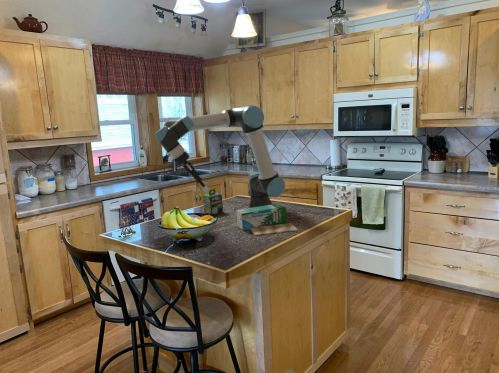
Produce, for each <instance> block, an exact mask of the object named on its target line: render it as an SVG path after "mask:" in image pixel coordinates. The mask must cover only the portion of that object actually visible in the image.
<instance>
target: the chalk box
mask: <svg viewBox="0 0 499 373" xmlns="http://www.w3.org/2000/svg"><path fill="white" fill-rule="evenodd" d="M223 204H224V203H223V194H222V193H218V192H216V188H212V189H210V190H209V191H208V193H205V194H203V195H202V205H203V206H202V207H203V213H204V212H205V213H204V214H207V213H208V214H207V215H210V214H211V216H212V215H217V214H220V213H223V212H224V207H223V206H224V205H223Z"/></svg>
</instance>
